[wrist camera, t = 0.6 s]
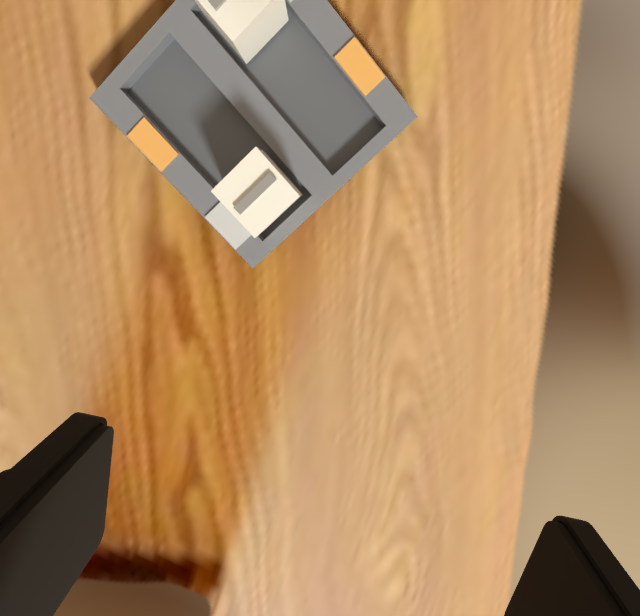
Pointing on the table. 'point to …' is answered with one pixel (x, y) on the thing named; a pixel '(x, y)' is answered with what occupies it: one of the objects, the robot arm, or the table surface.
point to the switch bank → (254, 110)
